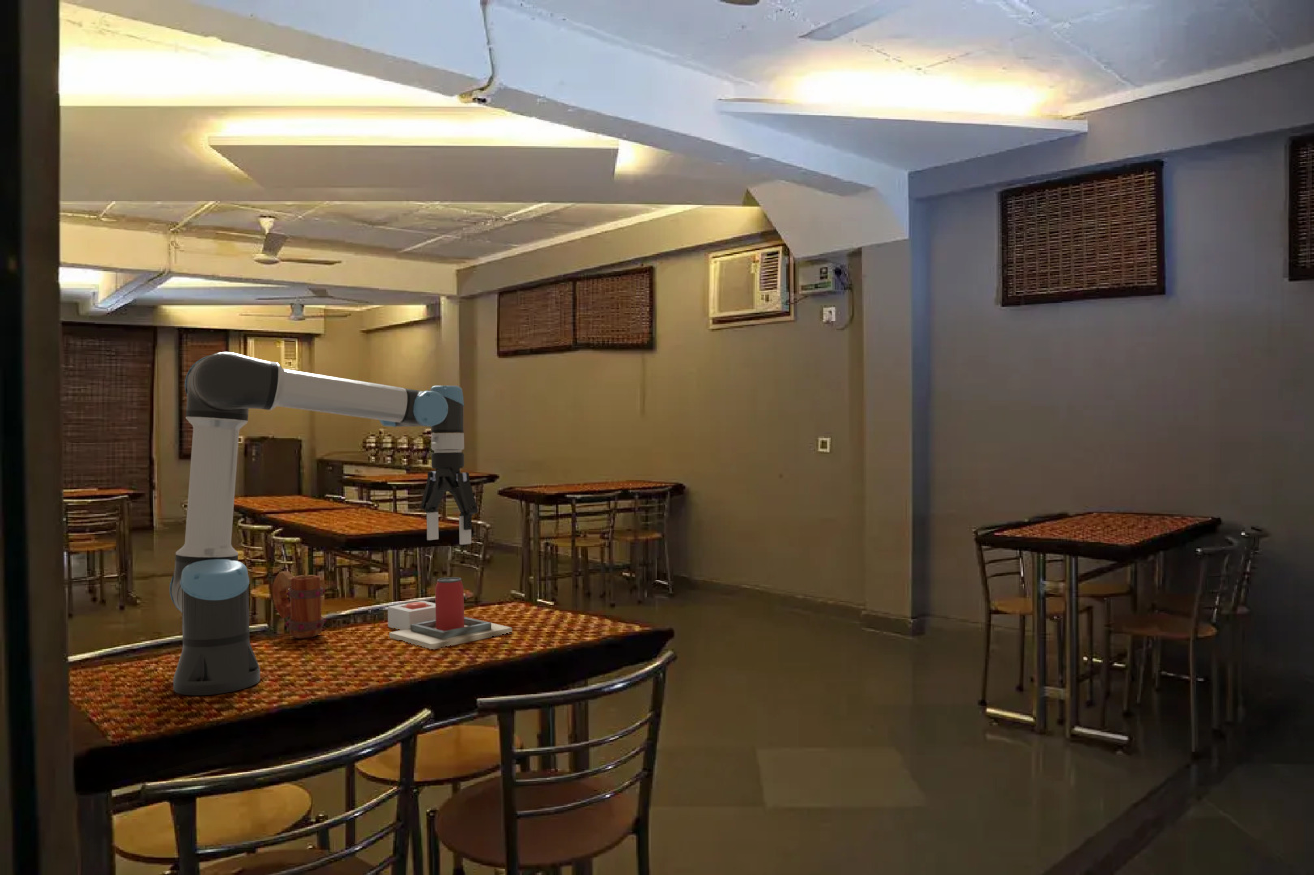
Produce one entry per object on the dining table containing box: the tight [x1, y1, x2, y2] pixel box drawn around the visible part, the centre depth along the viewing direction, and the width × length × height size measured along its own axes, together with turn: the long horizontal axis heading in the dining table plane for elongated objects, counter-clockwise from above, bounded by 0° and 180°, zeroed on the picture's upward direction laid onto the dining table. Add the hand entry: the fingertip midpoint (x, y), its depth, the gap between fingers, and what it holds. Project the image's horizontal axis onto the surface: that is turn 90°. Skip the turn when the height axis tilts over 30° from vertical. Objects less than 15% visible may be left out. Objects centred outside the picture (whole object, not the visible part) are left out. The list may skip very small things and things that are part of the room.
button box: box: [387, 600, 436, 631], centre depth 231 cm, size 10×10×5 cm
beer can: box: [434, 576, 465, 631], centre depth 220 cm, size 7×7×12 cm
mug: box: [272, 570, 327, 640], centre depth 222 cm, size 15×8×15 cm, turn 62°
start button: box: [405, 601, 426, 609], centre depth 230 cm, size 5×5×4 cm
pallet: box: [388, 616, 513, 650], centre depth 220 cm, size 22×18×3 cm
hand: (448, 541), depth 220 cm, fingers open, 13 cm apart
